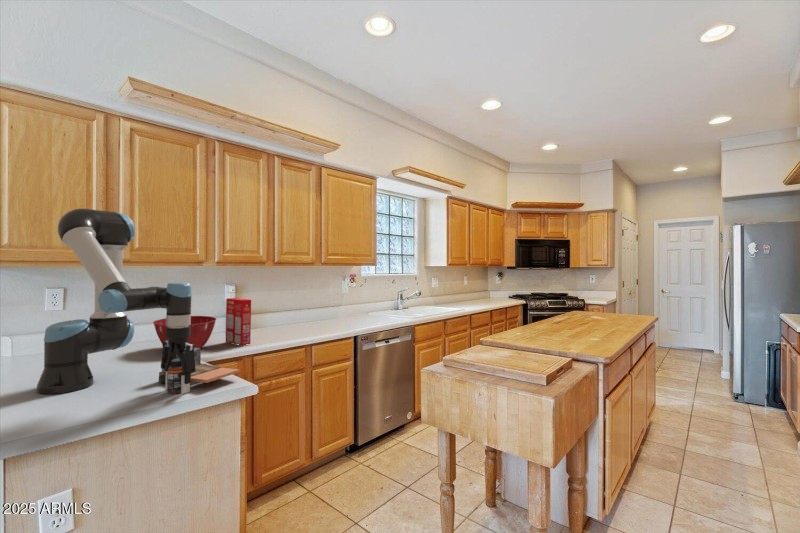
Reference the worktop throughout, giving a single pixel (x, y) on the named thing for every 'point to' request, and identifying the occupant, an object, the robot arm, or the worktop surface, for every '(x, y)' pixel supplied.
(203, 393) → the worktop surface
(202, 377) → the tailgate
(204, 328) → the mixing bowl
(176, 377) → the supplement bottle
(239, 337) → the food packaging
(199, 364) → the flatbed
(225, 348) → the worktop surface
